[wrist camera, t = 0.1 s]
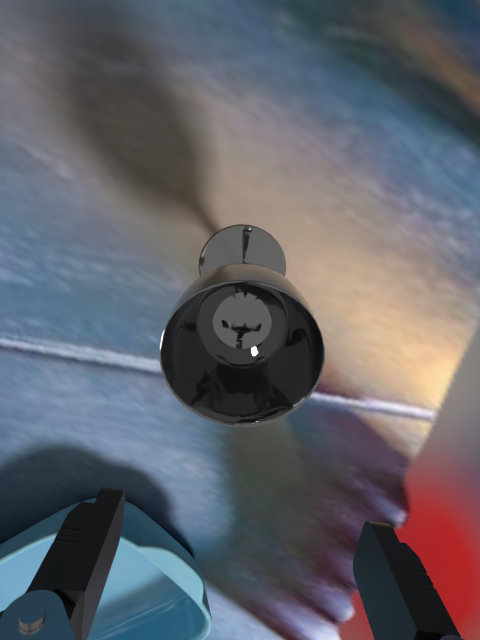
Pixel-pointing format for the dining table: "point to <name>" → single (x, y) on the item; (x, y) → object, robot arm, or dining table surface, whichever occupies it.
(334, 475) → the dining table surface
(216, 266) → the wine glass
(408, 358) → the dining table surface
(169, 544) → the casserole dish
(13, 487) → the dining table surface
